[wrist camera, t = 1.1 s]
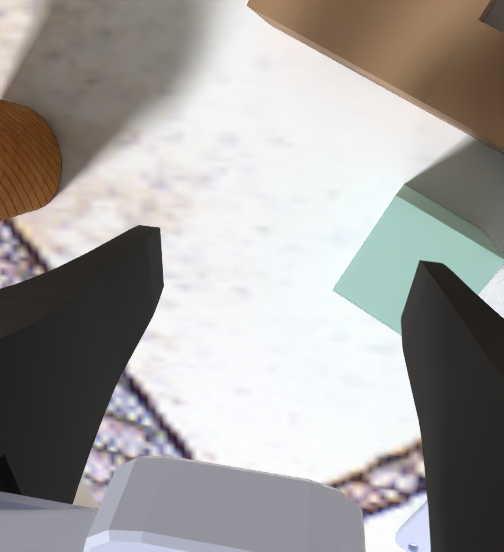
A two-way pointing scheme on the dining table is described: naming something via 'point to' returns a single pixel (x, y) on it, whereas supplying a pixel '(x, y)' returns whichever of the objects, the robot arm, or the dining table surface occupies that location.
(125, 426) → the dining table surface
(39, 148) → the disposable coffee cup
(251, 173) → the dining table surface
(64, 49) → the dining table surface
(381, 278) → the teal block
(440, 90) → the well board
